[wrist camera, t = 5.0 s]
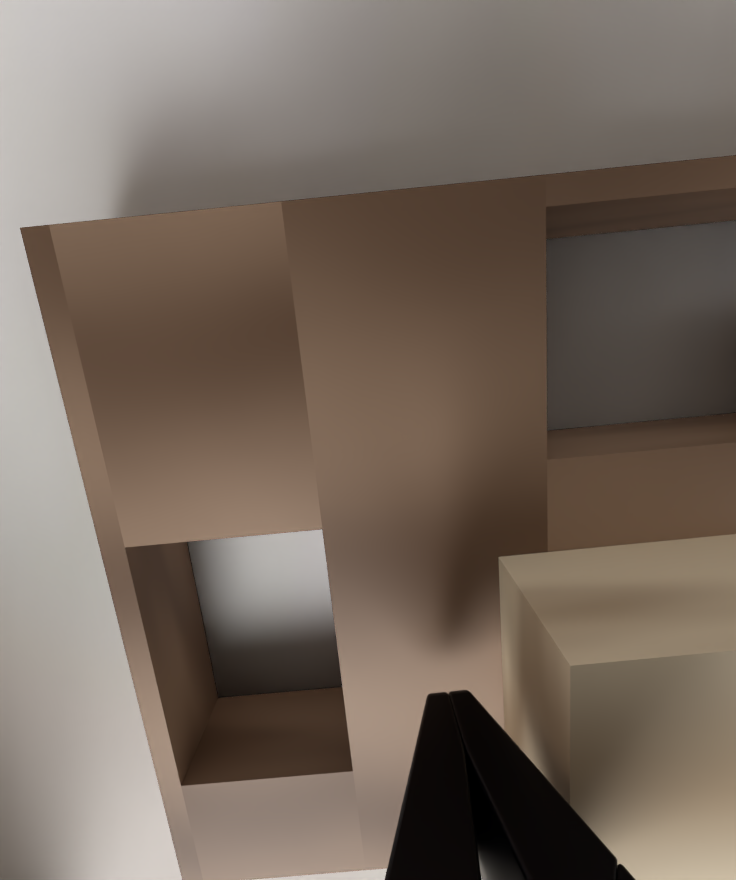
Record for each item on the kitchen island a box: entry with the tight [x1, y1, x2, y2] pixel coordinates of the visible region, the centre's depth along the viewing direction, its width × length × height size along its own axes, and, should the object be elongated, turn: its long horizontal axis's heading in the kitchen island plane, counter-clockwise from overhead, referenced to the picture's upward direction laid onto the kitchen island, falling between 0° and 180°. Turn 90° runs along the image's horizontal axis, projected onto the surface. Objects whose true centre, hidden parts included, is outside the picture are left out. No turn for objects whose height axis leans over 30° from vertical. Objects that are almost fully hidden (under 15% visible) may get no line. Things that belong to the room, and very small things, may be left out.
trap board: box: [20, 155, 736, 880], centre depth 10 cm, size 15×25×2 cm, turn 95°
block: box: [498, 534, 736, 880], centre depth 7 cm, size 5×5×3 cm
